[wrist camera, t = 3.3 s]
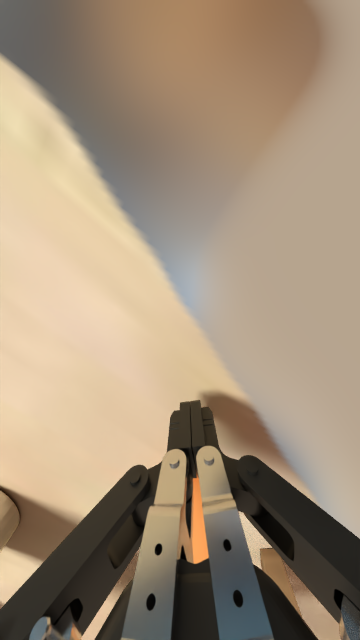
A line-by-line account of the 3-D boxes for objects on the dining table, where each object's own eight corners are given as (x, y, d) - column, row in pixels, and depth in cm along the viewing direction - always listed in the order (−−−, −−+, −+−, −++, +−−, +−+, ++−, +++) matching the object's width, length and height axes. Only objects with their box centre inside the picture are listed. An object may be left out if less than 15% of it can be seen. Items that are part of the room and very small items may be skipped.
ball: (206, 505, 18) (216, 600, 13) (164, 481, 18) (155, 572, 12) (241, 475, 17) (268, 565, 12) (197, 448, 16) (204, 531, 11)
